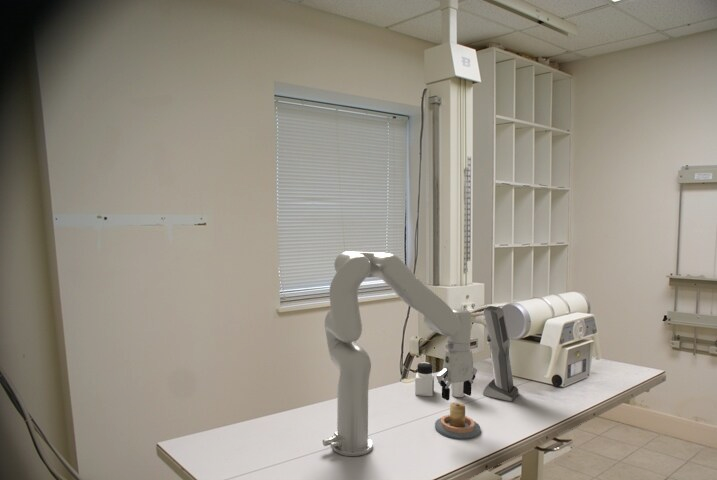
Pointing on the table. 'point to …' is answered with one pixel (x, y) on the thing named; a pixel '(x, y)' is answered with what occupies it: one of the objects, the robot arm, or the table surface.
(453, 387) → the drinking glass
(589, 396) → the table surface
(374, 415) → the table surface
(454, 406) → the wooden bead
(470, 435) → the ring tray
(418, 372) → the medicine bottle
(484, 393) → the thermal camera
